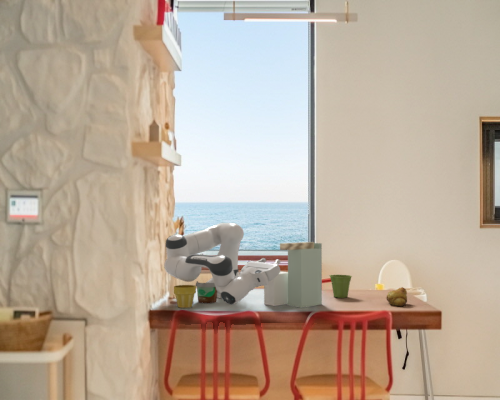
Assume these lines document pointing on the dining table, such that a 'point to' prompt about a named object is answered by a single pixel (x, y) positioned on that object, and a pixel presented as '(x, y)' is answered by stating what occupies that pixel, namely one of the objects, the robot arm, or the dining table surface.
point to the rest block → (277, 290)
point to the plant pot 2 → (340, 285)
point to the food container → (206, 292)
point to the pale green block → (305, 277)
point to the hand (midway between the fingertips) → (271, 259)
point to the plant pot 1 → (184, 295)
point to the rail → (296, 246)
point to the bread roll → (397, 297)
